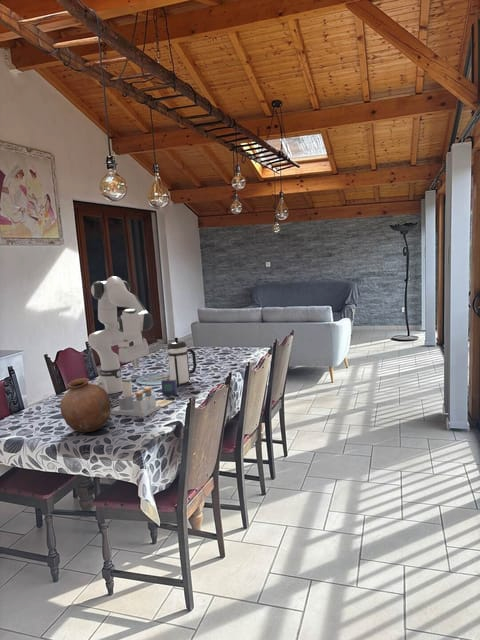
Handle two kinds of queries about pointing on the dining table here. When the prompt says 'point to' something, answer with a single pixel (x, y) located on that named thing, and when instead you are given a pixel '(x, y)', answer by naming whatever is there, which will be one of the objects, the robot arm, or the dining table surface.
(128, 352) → the robot arm
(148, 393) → the plunger
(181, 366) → the coffee press
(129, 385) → the cartridge
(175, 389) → the dark blue rectangular block
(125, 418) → the dining table surface
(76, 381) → the pottery
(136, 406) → the housing
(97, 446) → the dining table surface
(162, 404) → the trivet
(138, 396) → the plunger
